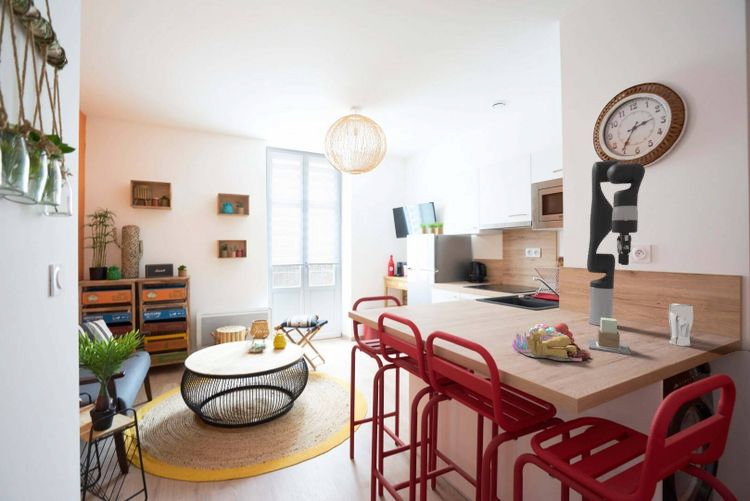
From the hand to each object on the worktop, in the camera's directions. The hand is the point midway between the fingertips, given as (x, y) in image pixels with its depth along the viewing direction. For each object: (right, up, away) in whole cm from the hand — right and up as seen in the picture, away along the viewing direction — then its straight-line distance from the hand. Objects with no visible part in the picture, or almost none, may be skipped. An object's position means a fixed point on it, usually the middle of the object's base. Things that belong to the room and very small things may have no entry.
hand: (623, 264), depth 124 cm
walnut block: (-5, -29, 0) cm, 30 cm away
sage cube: (-5, -24, 0) cm, 25 cm away
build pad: (-6, -30, 0) cm, 31 cm away
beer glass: (+26, -31, +6) cm, 41 cm away
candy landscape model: (-30, -30, -5) cm, 43 cm away
